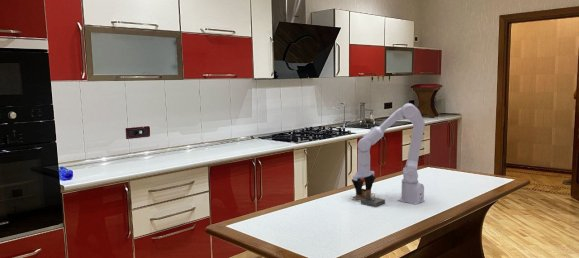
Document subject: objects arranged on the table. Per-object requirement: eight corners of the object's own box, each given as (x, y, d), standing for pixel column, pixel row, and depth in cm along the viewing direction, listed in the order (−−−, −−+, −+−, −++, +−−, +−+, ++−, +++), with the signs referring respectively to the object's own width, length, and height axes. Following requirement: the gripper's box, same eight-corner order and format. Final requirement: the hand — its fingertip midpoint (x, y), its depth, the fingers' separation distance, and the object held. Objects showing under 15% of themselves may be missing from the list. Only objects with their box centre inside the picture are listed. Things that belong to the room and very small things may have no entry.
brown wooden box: (371, 196, 200) (371, 190, 199) (364, 198, 196) (364, 192, 196) (362, 194, 203) (362, 188, 203) (355, 196, 200) (355, 190, 199)
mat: (374, 197, 200) (374, 196, 200) (365, 200, 195) (365, 199, 195) (361, 195, 205) (361, 193, 204) (352, 198, 200) (352, 196, 200)
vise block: (385, 203, 190) (385, 194, 189) (376, 207, 185) (376, 197, 184) (369, 200, 195) (369, 190, 195) (360, 203, 191) (360, 193, 190)
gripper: (365, 160, 206) (365, 188, 207) (347, 165, 195) (347, 194, 197) (378, 162, 201) (377, 191, 202) (360, 167, 191) (359, 197, 192)
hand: (363, 193), depth 199 cm, fingers open, 7 cm apart
